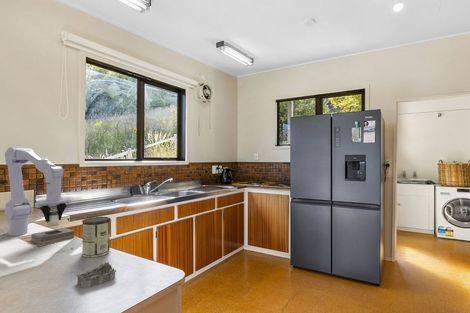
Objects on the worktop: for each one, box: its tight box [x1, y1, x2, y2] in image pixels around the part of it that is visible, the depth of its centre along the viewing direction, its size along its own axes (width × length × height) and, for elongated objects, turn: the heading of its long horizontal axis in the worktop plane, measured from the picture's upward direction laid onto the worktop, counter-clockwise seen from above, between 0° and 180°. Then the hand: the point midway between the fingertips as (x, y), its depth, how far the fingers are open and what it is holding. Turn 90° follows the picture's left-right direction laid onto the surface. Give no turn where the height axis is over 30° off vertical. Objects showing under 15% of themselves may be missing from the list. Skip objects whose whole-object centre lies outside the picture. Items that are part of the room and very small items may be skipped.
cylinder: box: [46, 210, 60, 228], centre depth 127 cm, size 4×4×6 cm
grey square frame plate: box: [30, 227, 75, 244], centre depth 127 cm, size 14×10×3 cm
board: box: [16, 234, 80, 248], centre depth 128 cm, size 24×17×1 cm
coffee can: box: [81, 216, 111, 258], centre depth 111 cm, size 10×10×14 cm
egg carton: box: [76, 261, 117, 289], centre depth 87 cm, size 11×8×4 cm
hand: (53, 220), depth 127 cm, fingers closed on cylinder, 4 cm apart
